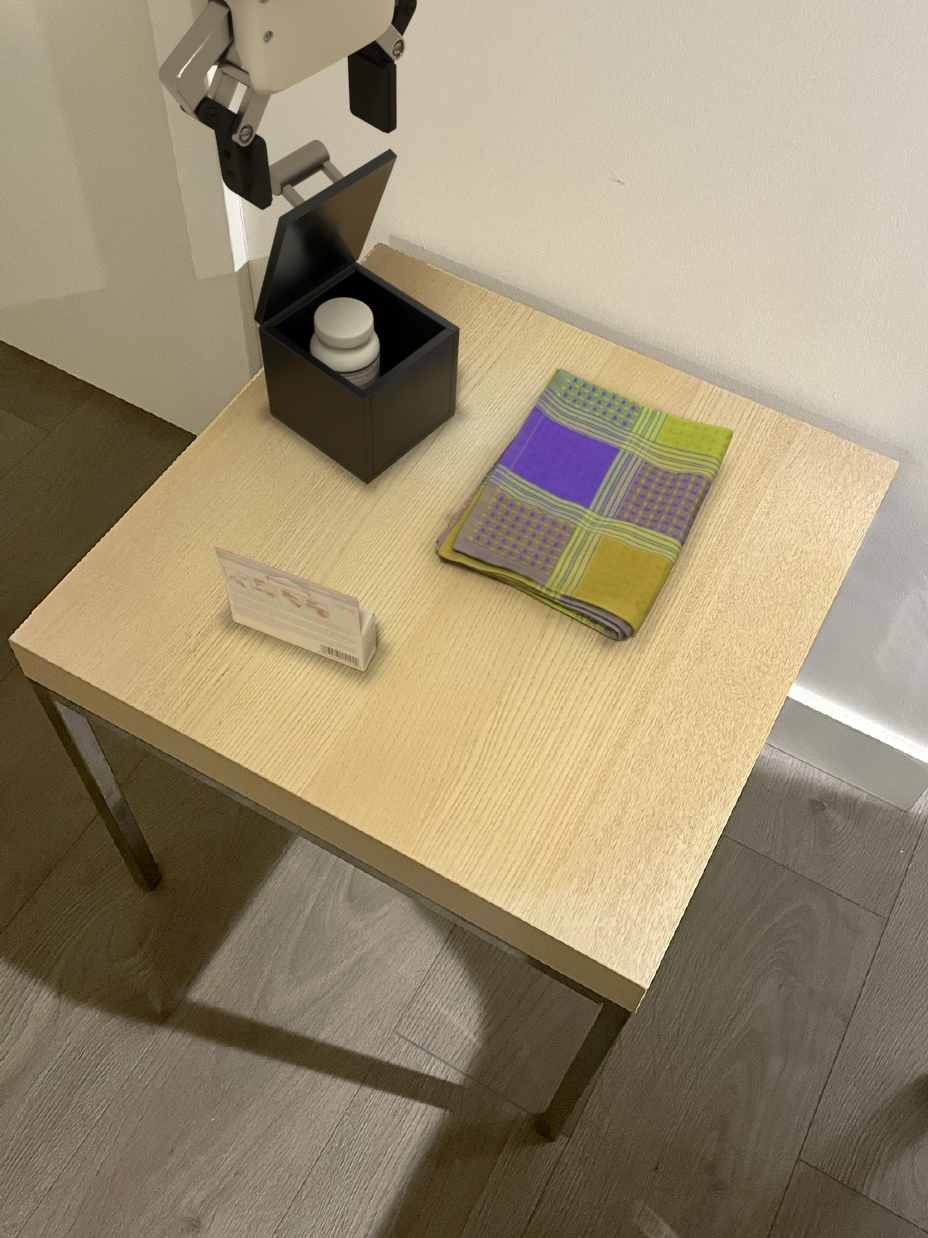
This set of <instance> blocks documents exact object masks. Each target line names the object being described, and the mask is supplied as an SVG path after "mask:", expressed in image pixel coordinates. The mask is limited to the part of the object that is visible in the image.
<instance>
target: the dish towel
mask: <svg viewBox="0 0 928 1238" xmlns="http://www.w3.org/2000/svg"><path fill="white" fill-rule="evenodd" d="M733 436H734V431H733V430H732V429H731V428H727V427H724V426H721V425H714V424H709V423H704V422H699V421H696V420H695V421H694V420H692V419H686V418H682V417H678V416H674V415H672V414H670V413H666V412H663V411H660V410H657V409H654V408H651V407H649V406H647V405H644V404H642V403H640V402H637V401H636V400H633V399H631V398H629V397H626V396H624V395H622V394H619V393H618V392H616V391H612V390H610V389H608V388H605V387H603V386H600V385H599V384H596V383H594V382H592V381H589V380H586V379H584V378H583V377H580V376H577V375H575V374H573V373H571V372H569V371H568V370H566V369H564V368H558V367H557V368H556V369H555V370H554V372H553V374H552V375H551V377H550V378H549V380H548V382H547V383H546V384H545V387H544V388H543V390H542V391H541V393H540V395H539V396H538V398H537V400H536V401H535V404H534V406H533V407H532V408H531V410H530V412H529V413H528V415H527V417H526V418H525V420H524V422H523V423H522V424H521V426H520V428H519V429H518V431H517V434H515V436H514V437H513V438H512V439H511V440H510V442H509V443H508V445H507V446H506V447H505V448H504V450H503V451H502V452H501V454H500V455H499V456H498V458H497V459H496V461H494V462H493V463H494V464H492V465H491V467H490V468H489V469H488V470H487V472H486V473H485V475H484V476H483V478H482V479H481V481H480V482H479V484H478V485H477V486H476V488H475V489H474V491H473V492H472V493H471V494H470V496H469V497H468V498H467V499H466V500H465V501H464V503H463V504H462V506H461V507H460V509H459V510H458V512H457V513H456V515H454V517H452V519H451V521H450V522H449V523H448V525H447V526H446V527H445V529H444V530H443V531H442V532H441V533H440V534H439V535H438V536H437V538H436V539H435V542H436V545H435V546H434V550H435V551H437V555H438V556H440V557H441V558H444V559H447V560H450V561H453V562H457V563H459V564H462V565H464V566H465V567H467V568H470V569H471V570H475V571H477V572H479V573H482V574H486V575H488V576H490V577H494V578H496V579H498V580H500V581H502V582H504V583H506V584H508V585H510V586H512V587H514V588H516V589H518V590H520V591H521V592H523V593H525V594H527V595H529V596H530V597H532V598H533V599H536V600H537V601H540V602H542V603H543V604H545V605H547V606H549V607H551V608H553V609H555V610H557V611H559V612H562V613H563V614H565V615H567V616H570V617H571V618H574V619H575V620H577V621H579V622H580V623H581V624H584V625H587V626H588V627H590V628H591V629H594V630H596V631H597V632H599V633H601V634H603V635H605V636H606V637H608V638H610V639H613V640H617V641H622V640H626V639H629V638H630V637H634V636H636V635H637V634H638V631H639V630H640V628H641V627H642V625H643V624H644V622H645V621H646V618H647V617H648V616H649V613H650V611H651V610H652V608H653V607H654V605H655V602H656V601H657V598H658V597H659V595H660V593H661V591H662V589H663V588H664V586H665V583H666V582H667V580H668V578H669V576H670V574H671V572H672V569H673V567H674V565H675V564H676V562H677V561H678V560H679V557H680V554H681V552H682V549H683V547H684V545H685V544H686V541H687V539H688V537H689V536H690V532H691V529H692V527H693V525H694V522H695V520H696V518H697V517H698V513H699V511H700V510H701V507H702V505H703V503H704V501H705V498H706V496H707V495H708V493H709V492H710V489H711V486H712V484H713V482H714V481H715V479H716V478H717V475H718V474H719V472H720V467H721V465H722V463H723V461H724V458H725V456H726V453H727V451H728V448H729V446H730V443H731V442H732V439H733Z"/></svg>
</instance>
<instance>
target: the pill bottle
mask: <svg viewBox="0 0 928 1238" xmlns="http://www.w3.org/2000/svg"><path fill="white" fill-rule="evenodd" d="M314 327H315V332H314V334H313V336H312V338H311V342H310V354H311V355H313V356H314V357H316V358H317V359H318V360H320V361H321V362H323V363H324V364H326V365H327V366H329V367H330V368H332V369H333V370H334V371H336V372H337V373H339V374H340V375H342V376H343V377H345V378H346V379H347V380H349V381H350V382H352V383H353V384H355V385H356V386H358V387H359V388H361V389H362V390H363V391H364V390H365V389H366V388H367V387H369V386H370V385H371V384H373V383H374V382H375V381H377V380H378V379H379V378H380V344H379V339H378V336H377V334H376V333H375V331H374V324H373V314H372V312H371V310H370V308H369V307H368V306H367V305H366V304H364V303H363V302H361V301H359V300H356V299H352V298H335V299H331V300H328V301H326V302H324V303H323V304H322V305H320V306H319V307H318V309H317V310H316V312H315V315H314Z"/></svg>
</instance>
